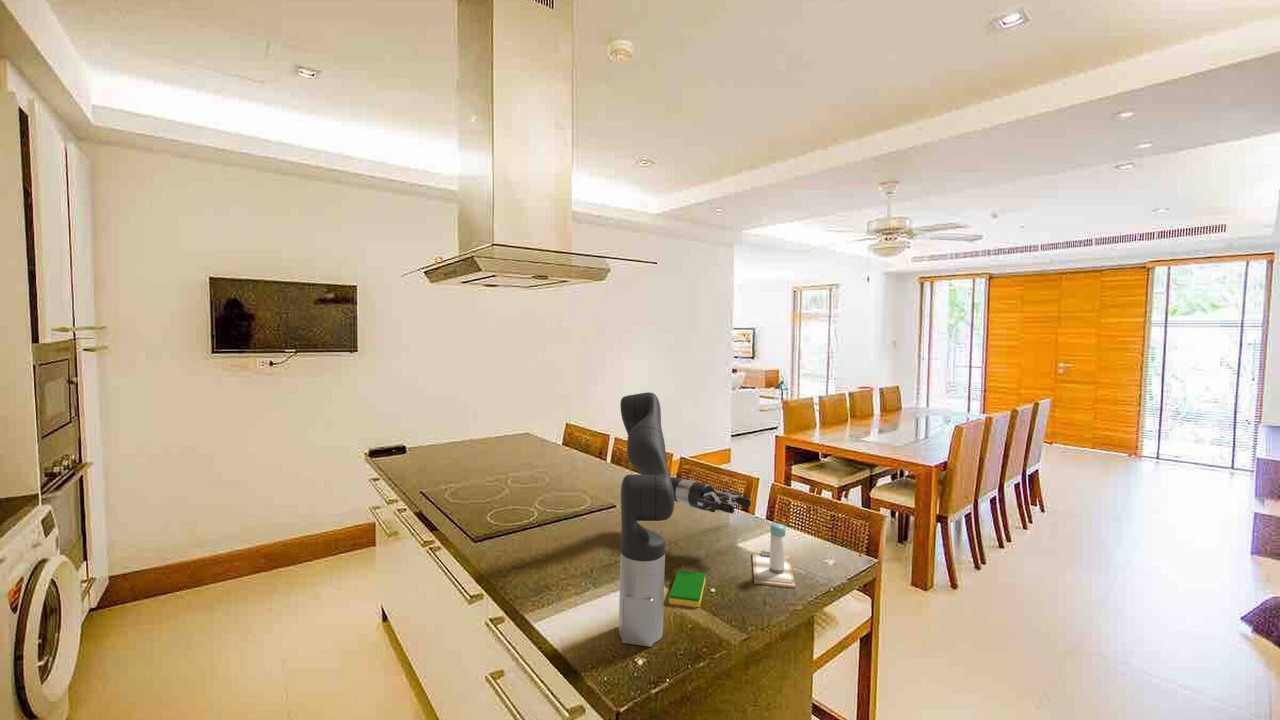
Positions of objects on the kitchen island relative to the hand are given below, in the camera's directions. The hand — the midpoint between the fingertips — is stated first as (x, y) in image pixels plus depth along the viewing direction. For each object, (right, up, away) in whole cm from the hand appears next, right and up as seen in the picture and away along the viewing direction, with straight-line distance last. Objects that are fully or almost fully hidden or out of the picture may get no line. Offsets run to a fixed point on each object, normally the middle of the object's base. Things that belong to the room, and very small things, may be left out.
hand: (742, 506), depth 144 cm
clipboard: (+7, -16, -3) cm, 18 cm away
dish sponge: (-16, -17, -16) cm, 29 cm away
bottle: (+8, -15, -6) cm, 18 cm away
